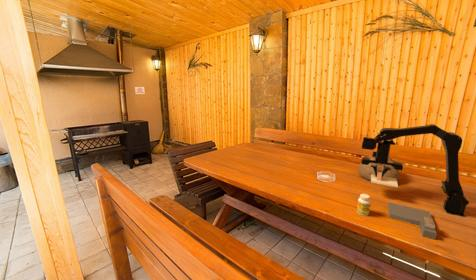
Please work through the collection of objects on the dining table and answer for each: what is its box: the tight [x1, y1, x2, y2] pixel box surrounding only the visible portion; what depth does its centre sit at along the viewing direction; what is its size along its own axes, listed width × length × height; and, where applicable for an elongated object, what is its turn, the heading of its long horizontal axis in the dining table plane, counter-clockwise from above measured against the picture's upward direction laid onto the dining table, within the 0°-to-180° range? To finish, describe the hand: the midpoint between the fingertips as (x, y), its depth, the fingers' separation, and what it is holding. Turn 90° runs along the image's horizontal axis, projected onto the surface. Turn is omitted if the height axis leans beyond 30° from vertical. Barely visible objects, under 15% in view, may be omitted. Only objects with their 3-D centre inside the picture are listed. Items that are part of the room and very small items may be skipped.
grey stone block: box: [423, 217, 436, 230], centre depth 88 cm, size 3×5×2 cm, turn 147°
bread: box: [357, 154, 401, 182], centre depth 140 cm, size 26×23×15 cm
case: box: [387, 202, 437, 240], centre depth 95 cm, size 16×20×3 cm
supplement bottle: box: [356, 193, 372, 217], centre depth 101 cm, size 5×5×10 cm
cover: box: [370, 169, 399, 188], centre depth 114 cm, size 12×10×6 cm
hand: (378, 177), depth 116 cm, fingers closed on cover
